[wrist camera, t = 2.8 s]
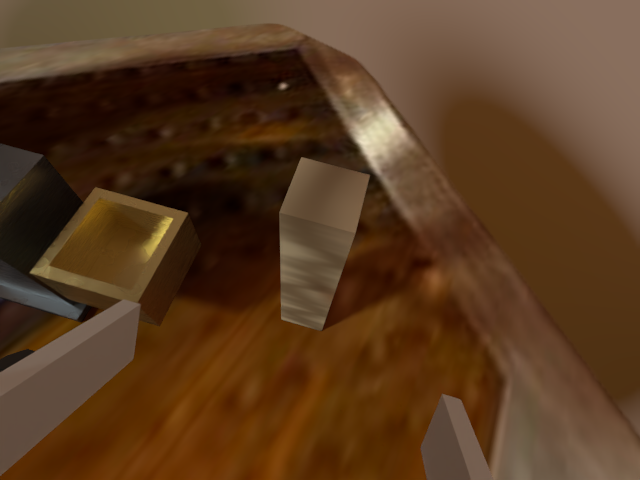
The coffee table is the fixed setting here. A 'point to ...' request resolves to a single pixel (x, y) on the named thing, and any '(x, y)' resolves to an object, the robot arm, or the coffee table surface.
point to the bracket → (86, 244)
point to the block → (317, 238)
